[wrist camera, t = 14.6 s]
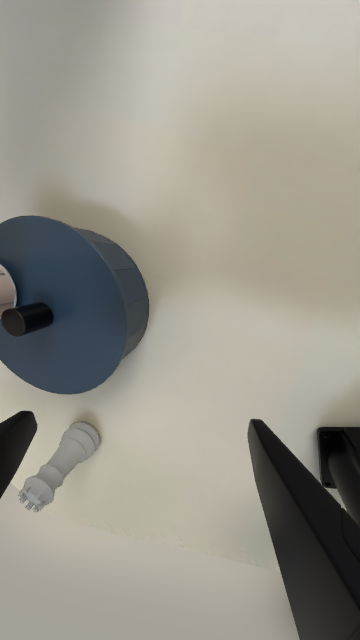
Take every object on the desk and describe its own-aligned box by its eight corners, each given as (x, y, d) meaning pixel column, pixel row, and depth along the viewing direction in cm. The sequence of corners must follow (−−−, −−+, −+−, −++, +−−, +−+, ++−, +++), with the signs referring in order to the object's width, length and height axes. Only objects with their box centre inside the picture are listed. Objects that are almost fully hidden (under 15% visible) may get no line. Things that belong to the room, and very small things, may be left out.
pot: (172, 272, 19) (152, 276, 15) (120, 383, 24) (93, 413, 19) (48, 206, 20) (-8, 190, 16) (21, 324, 25) (-28, 339, 20)
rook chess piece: (91, 455, 28) (39, 527, 20) (64, 432, 28) (3, 496, 20) (108, 436, 26) (58, 507, 19) (80, 413, 26) (19, 473, 19)
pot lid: (162, 273, 15) (142, 277, 12) (99, 414, 20) (72, 446, 16) (-3, 184, 16) (-65, 164, 13) (-25, 338, 21) (-74, 353, 18)
